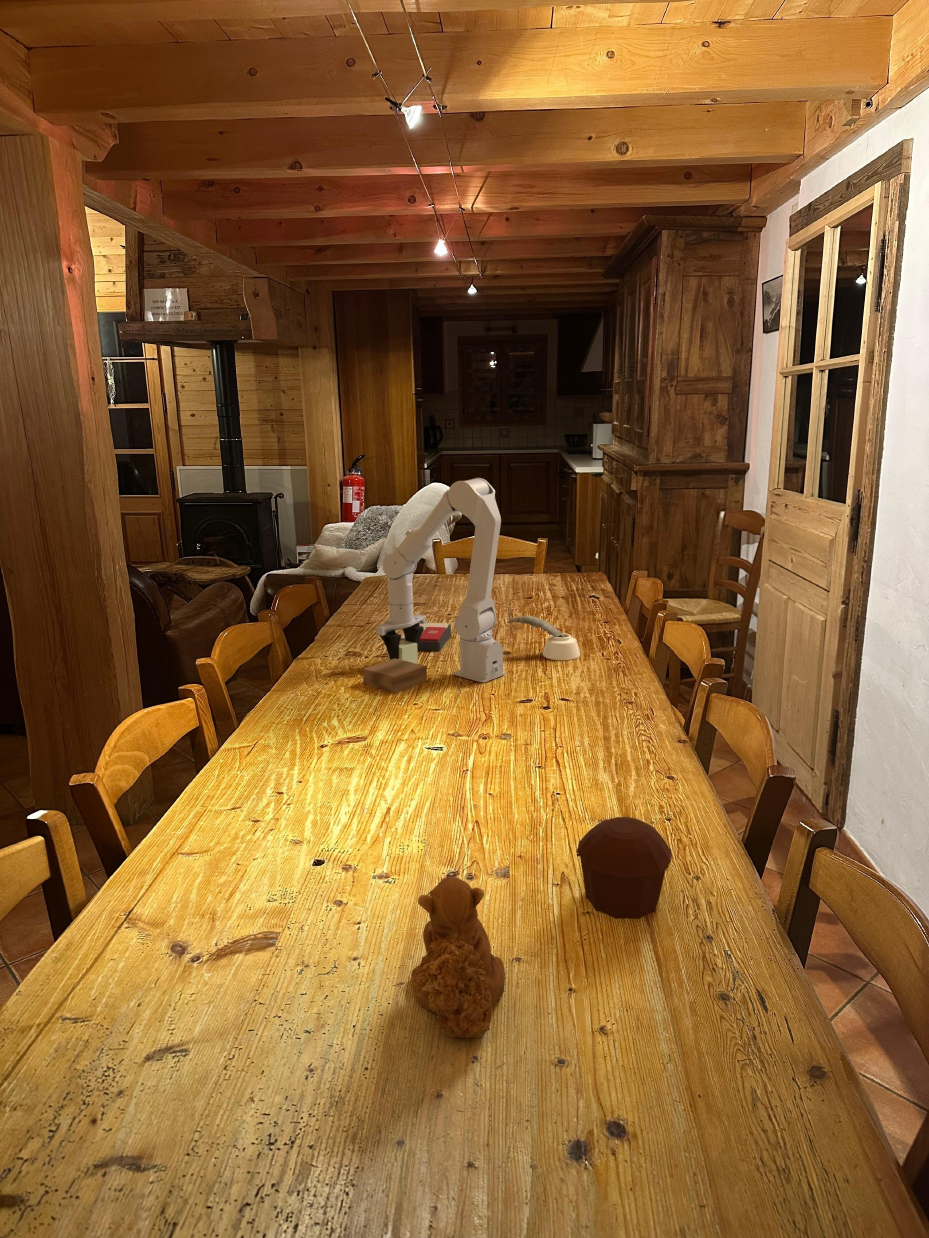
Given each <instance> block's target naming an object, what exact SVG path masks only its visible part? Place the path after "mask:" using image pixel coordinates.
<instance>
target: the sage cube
mask: <svg viewBox="0 0 929 1238" xmlns="http://www.w3.org/2000/svg"><path fill="white" fill-rule="evenodd" d="M399 659H400V660H404V661H408V662H412V663H416V664H419V663H418V660H419V659H418V651H417V643H413V642H409V641H405V640H400V644H399ZM388 660H390V657H389V654H388V653H387V661H388Z"/></svg>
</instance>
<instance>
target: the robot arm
mask: <svg viewBox="0 0 929 1238" xmlns="http://www.w3.org/2000/svg"><path fill="white" fill-rule="evenodd" d="M495 494H496V490H495V489H494V488H493V486H492V485H491V484H490V483H489V482H488V480H486V479H484V478H481V477H475V478H472V479H468V480H467V479H466V480H458V481H455V482H453V483H452V484H451V485H450V487H449V488H448V490H446V491H445V492H444V493H443V495H442V497H441V499H440V500H439V501H438V503H437V504H436V505H435V507H434V508H433V510H432V511H431V512H430V513H429V514H428V517H427V518H426V519H425V521H424V522H423V523H422V525H421V526H420V527H413V528H412V529H408V530H407V531H406V532H405V535H406V536H405V538H404V539H403V540H402V541H401V542H400V544H397V545H395V547H394V552H392V553H391V552H390V553H387V554H386V555H385V557H384V559H383V561H382V571H383V573H384V574H385V576H387V595H388V597H387V598H388V617H389V618H388V619H387V621H385V622H383V623H382V624H379V625H376V626H375V634H376V635H377V636H378V635H379V637H380V638H381V640H382V642H383V643H384V645H385V648H386V650H387V655H388V654H389V657H390V660H391V659H394V658H395V659H399V644H400V639H401V636H402V634H398V633H397V632H396V631H400V630H402V631H403V632H402V633H404V636H405V641H409V642H413V643H417V645H418V641H419V639H420V636H421V634H422V633H423V631H424V627H422V626H420V624H426V623H427V616H426V615H425V614H417V615H414V593H413V579H414V573H415V571H416V569H417V567H418V566H417V565H418V562H420V560H421V559H422V558H423V556H424V555H425V554H426V553H427V552H428V550H429V549H430V548H431V546H433V536H434V535H436V533H437V532H438V531H439V530H440V529H441V528H442V527H443V525H444V524H446V522H447V521H448V520H449V519H450V518H451V517H452V516H453V515H454V514H455V513H458V512H459V513H461V514H462V516H465V517H467V519H469V521H470V522H471V523H472V524H473V525H474V527H475V529H474V535H473V536H474V538H473V542H472V543H473V544H472V552H471V559H470V567H469V574H468V575H469V576H468V581H467V582H468V583H467V591H466V596H465V597H464V599H463V601H462V602H461V605H460V609H459V612H458V614H457V616H456V617H455V619H454V629H455V632H456V633H457V635H458V636H459V645H460V647H459V648H460V649H459V653H460V655H459V656H460V657H459V658H460V669H459V670H456V671H454V672H452V675H453V676H457V677H460V678H463V679H468V680H472V681H476V682H479V683H486V682H489V681H491V680H496V679H497V678H499V677H503V676H504V675H506V672H505V671H504V649H503V646H502V643H501V642H499V641H498V640H495V639H494V638H493V632H492V631H493V630H492V629H493V628H494V627H495V626H496V624H497V614H496V610H495V608H496V607H495V606H496V602H495V600H494V599H493V598H492V591H493V584H494V583H493V581H494V575H495V567H496V561H497V560H496V559H497V554H498V547H499V546H498V545H499V538H500V531H501V525H502V518H501V514H500V511H499V508H498V505H497V501H496V495H495Z"/></svg>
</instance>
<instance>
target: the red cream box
mask: <svg viewBox="0 0 929 1238" xmlns="http://www.w3.org/2000/svg"><path fill="white" fill-rule="evenodd" d="M420 626H422V627H424V631H423V633H422V634H421V636H420V639H419V641H418V645H417V652H420V651H421V652H441V651H442V649H443V648H444V647H445V646H446V644H447V642H448V641H449V640H450V638H451V637H452V625H451V624H450V623H447V622H446V623H445V622H426V624H420ZM401 635H402V636H401V639H400V640H405V636H404V632H402V634H401Z"/></svg>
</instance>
